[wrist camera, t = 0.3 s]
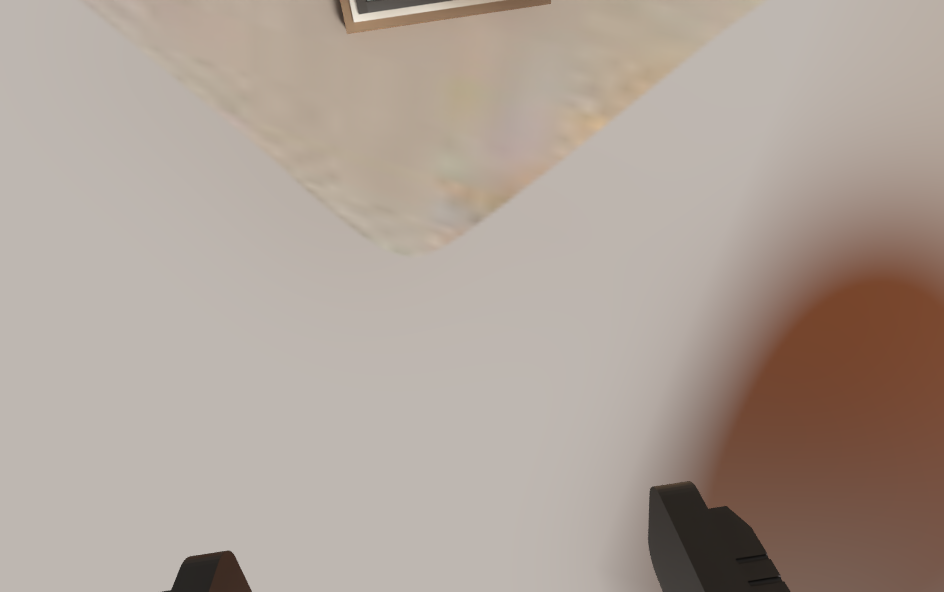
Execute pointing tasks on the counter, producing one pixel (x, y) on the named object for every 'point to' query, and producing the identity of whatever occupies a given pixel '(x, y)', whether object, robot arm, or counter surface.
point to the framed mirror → (419, 11)
